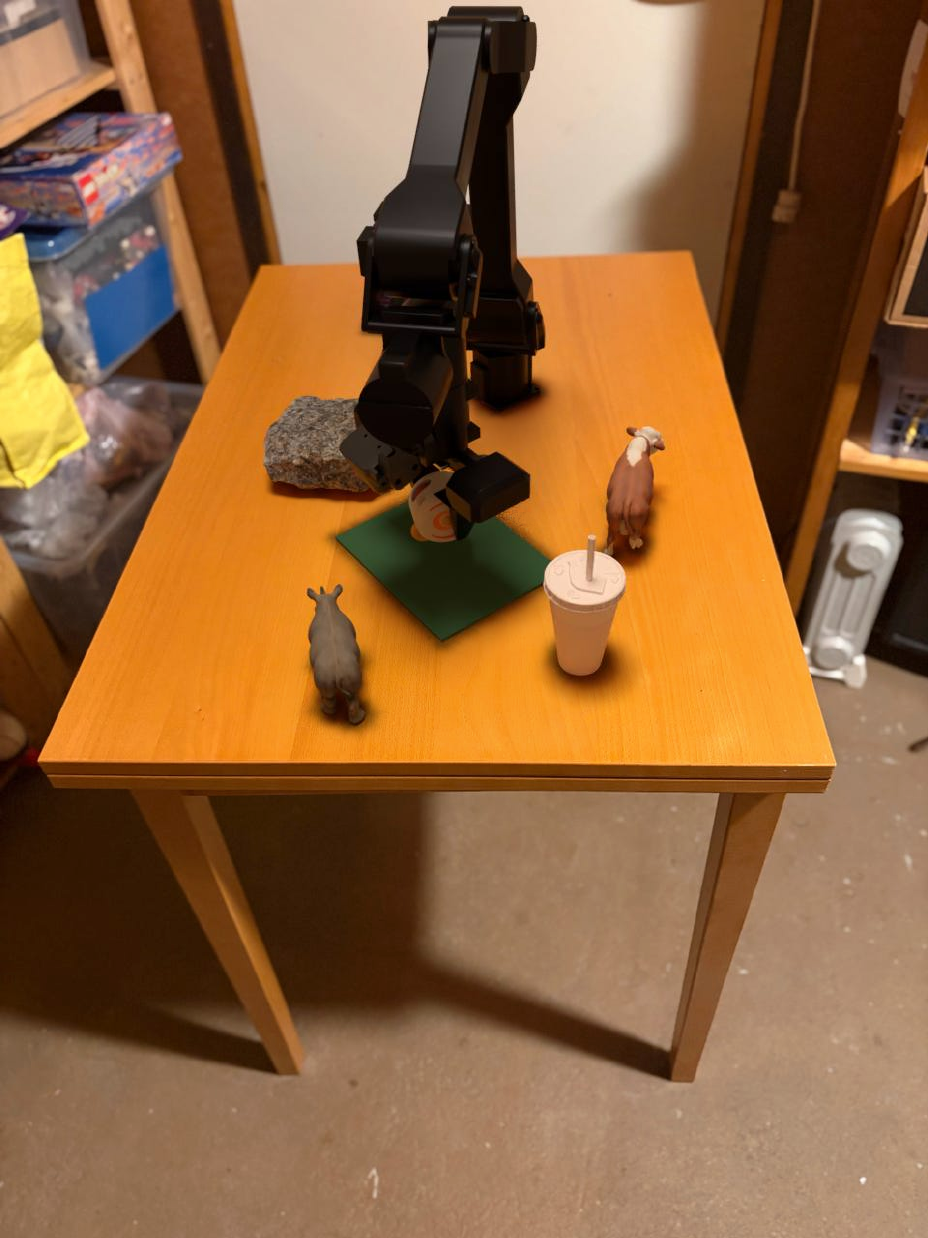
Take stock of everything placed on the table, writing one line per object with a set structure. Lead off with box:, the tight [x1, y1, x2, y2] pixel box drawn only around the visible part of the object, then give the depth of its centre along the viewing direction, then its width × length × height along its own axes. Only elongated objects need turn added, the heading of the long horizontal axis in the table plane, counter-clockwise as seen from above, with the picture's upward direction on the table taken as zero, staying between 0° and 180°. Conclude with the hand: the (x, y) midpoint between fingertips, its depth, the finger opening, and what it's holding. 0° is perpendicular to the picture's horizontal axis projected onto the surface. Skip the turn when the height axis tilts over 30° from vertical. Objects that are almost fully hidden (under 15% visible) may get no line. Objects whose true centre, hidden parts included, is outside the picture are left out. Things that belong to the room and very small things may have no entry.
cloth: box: [334, 500, 552, 643], centre depth 89 cm, size 14×18×1 cm
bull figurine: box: [603, 425, 666, 557], centre depth 88 cm, size 4×13×8 cm, turn 161°
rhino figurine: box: [306, 583, 366, 724], centre depth 77 cm, size 4×14×6 cm, turn 12°
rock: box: [262, 395, 370, 493], centre depth 98 cm, size 13×6×15 cm
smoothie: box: [542, 534, 627, 677], centre depth 74 cm, size 6×6×14 cm
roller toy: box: [408, 470, 456, 542], centre depth 85 cm, size 4×6×6 cm
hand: (444, 523), depth 86 cm, fingers closed on roller toy, 5 cm apart
